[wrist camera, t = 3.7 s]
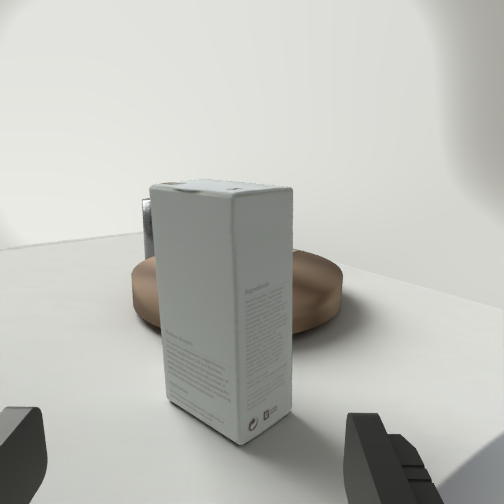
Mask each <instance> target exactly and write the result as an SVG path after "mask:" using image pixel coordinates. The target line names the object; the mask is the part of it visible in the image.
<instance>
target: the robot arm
mask: <svg viewBox="0 0 504 504" xmlns="http://www.w3.org/2000/svg"><path fill="white" fill-rule="evenodd" d="M46 469H47V449H46V442H45V434H44V426H43V418H42V413H41V410H40V409H39V408H38V407H6V408H5V409H3V410H2V411H1V412H0V504H29V503H30V501H31V500H32V498H33V496H34V495H35V493H36V492H37V490H38V489H39V487H40V485H41V483H42V481H43V479H44V476H45V473H46ZM343 473H344V484H345V490H346V494H347V498H348V502H349V504H444V503H443V501H442V499H441V497H440V495H439V493H438V491H437V489H436V487H435V485H434V483H432V479H431V477H430V475H429V473H428V471H427V469H425V467H424V464H423V462H422V460H421V458H420V456H419V454H418V452H417V450H416V448H415V447H414V446H412V445H411V444H410V443H409V442H408V441H407V440H406V439H405V438H404V437H403V436H402V435H401V434H387V432H386V430H385V428H384V425H383V423H382V421H381V418H380V416H379V415H378V414H377V413H348V415H347V421H346V434H345V448H344V461H343Z"/></svg>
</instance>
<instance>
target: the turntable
mask: <svg viewBox="0 0 504 504" xmlns="http://www.w3.org/2000/svg"><path fill="white" fill-rule="evenodd" d="M292 273H293V281H292V334H295V333H299V332H302V331H306V330H309V329H311V328H314V327H317V326H319V325H321V324H323V323H325V322H327V321H328V320H329V319H331V318H332V317H333V316H334V315H335V314H336V313H337V312H338V311H339V309H340V306H341V297H342V282H343V274H342V271H341V269H340V268H339V267H338V266H337V265H336V264H334V263H333V262H331V261H330V260H328V259H325V258H323V257H320V256H318V255H315V254H312V253H308V252H304V251H300V250H295V249H293V269H292ZM132 292H133V306H134V309H135V311H136V312H137V313H138V315H139V316H140V317H142V318H143V319H144V320H146V321H147V322H149V323H151V324H153V325H155V326H157V327H160V328H161V323H160V311H159V298H158V286H157V274H156V262H155V256H153V257H151V258H149V259H146V260H145V261H143V262H141V263H140V264H138V265H137V266H136V267H135V268H134V269H133V271H132Z"/></svg>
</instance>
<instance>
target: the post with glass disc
mask: <svg viewBox="0 0 504 504" xmlns="http://www.w3.org/2000/svg"><path fill="white" fill-rule="evenodd" d="M142 208H143V228H144V247H145V260H146V259H149V258H151V257H153V256H155V251H154V238H153V227H152V215H151V204H150V198H148V199H143V200H142Z"/></svg>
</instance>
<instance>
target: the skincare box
mask: <svg viewBox="0 0 504 504" xmlns="http://www.w3.org/2000/svg"><path fill="white" fill-rule="evenodd" d="M149 190H150V191H149V192H150V204H151V215H152V227H153V238H154V251H155V262H156V274H157V286H158V298H159V311H160V323H161V334H162V345H163V358H164V371H165V384H166V395H167V398H168V399H169V400H170V401H172V402H173V403H175V404H177V405H178V406H180V407H181V408H183V409H184V410H186V411H187V412H189V413H191V414H192V415H194V416H195V417H197V418H198V419H200V420H201V421H203V422H205V423H206V424H208V425H209V426H211V427H212V428H214V429H215V430H217V431H218V432H220V433H222V434H223V435H225V436H226V437H228V438H229V439H231V440H232V441H234V442H236V443H237V444H239V445H243V444H245V443H246V442H248V441H250V440H251V439H253V438H255V437H256V436H258V435H259V434H261V433H262V432H263V431H265V430H266V429H268V428H269V427H271V426H272V425H273V424H275V423H276V422H278V421H279V420H280V419H282V418H283V417H284V416H286V415H287V414H288V413H289V412H290V410H291V407H292V281H293V273H292V269H293V231H292V230H293V229H292V226H293V189H292V188H291V187H283V186H274V185H264V184H255V183H244V182H233V181H221V180H212V179H199V180H189V181H181V182H172V183H162V184H155V185H152V186H150V188H149Z"/></svg>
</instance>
